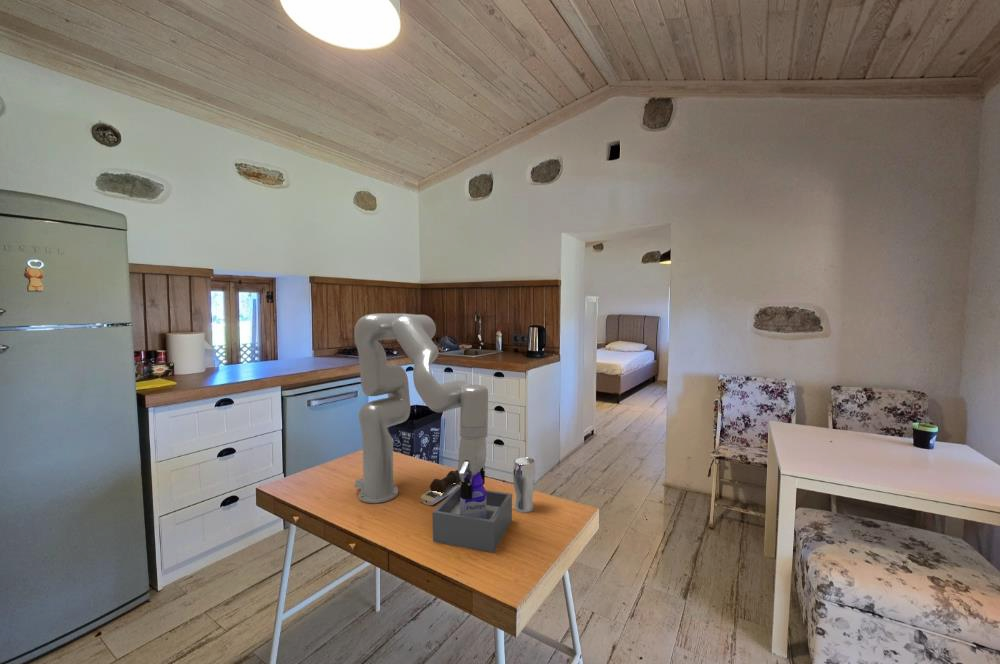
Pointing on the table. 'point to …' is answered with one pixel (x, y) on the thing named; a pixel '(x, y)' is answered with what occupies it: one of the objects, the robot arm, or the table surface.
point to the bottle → (475, 499)
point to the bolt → (445, 482)
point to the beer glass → (524, 483)
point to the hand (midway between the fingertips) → (472, 490)
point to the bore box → (472, 522)
